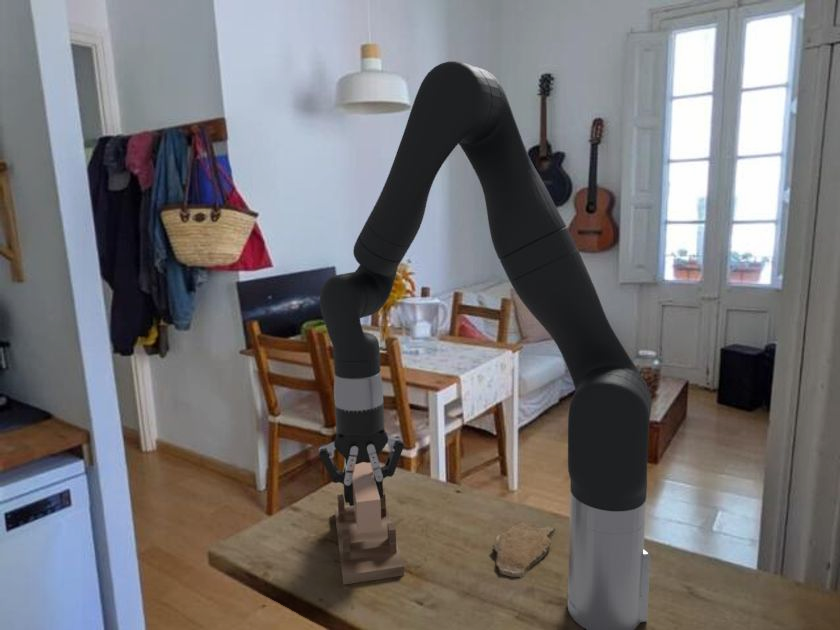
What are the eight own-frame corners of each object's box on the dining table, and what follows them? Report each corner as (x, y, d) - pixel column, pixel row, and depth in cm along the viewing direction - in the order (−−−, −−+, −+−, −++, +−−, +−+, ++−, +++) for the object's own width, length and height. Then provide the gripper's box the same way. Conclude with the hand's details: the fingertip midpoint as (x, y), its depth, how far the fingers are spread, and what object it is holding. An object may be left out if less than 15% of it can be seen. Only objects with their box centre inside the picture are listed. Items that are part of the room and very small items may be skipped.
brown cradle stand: (334, 514, 104) (333, 485, 103) (384, 507, 106) (383, 479, 105) (343, 584, 85) (341, 550, 84) (404, 575, 86) (402, 541, 85)
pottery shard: (538, 593, 84) (557, 530, 97) (538, 578, 84) (557, 517, 97) (483, 580, 88) (508, 521, 101) (482, 566, 87) (508, 508, 100)
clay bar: (369, 480, 102) (367, 453, 101) (381, 530, 87) (380, 499, 86) (349, 483, 101) (347, 456, 100) (358, 533, 86) (356, 502, 85)
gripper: (313, 413, 86) (320, 520, 89) (408, 403, 88) (411, 508, 92) (312, 396, 93) (318, 496, 96) (399, 388, 95) (403, 485, 99)
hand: (364, 501), depth 94 cm, fingers closed on clay bar, 3 cm apart
